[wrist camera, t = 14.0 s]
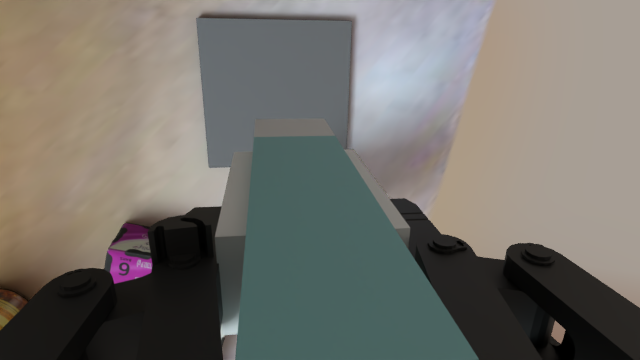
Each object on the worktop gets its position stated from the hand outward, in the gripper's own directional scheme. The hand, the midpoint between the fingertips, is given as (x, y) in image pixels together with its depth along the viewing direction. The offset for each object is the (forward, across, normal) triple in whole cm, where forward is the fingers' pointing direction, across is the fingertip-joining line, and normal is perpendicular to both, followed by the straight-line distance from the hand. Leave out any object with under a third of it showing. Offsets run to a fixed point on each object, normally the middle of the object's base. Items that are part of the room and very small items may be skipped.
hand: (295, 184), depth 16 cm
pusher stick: (+3, 0, 0) cm, 3 cm away
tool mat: (+20, 0, 0) cm, 20 cm away
